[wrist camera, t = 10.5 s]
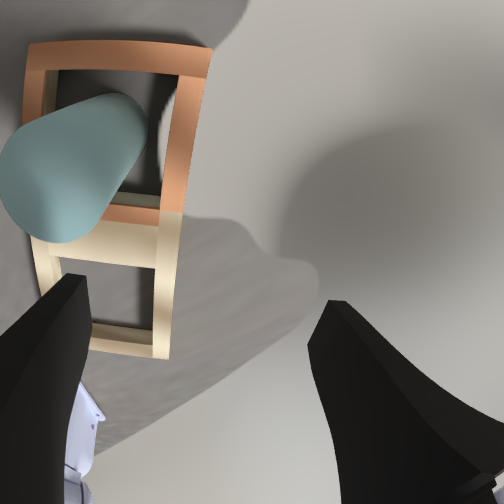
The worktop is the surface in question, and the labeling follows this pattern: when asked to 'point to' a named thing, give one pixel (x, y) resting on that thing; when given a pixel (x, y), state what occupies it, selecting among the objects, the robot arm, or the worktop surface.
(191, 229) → the worktop surface
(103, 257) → the wooden slot frame
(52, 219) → the peg
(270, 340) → the worktop surface
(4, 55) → the worktop surface
